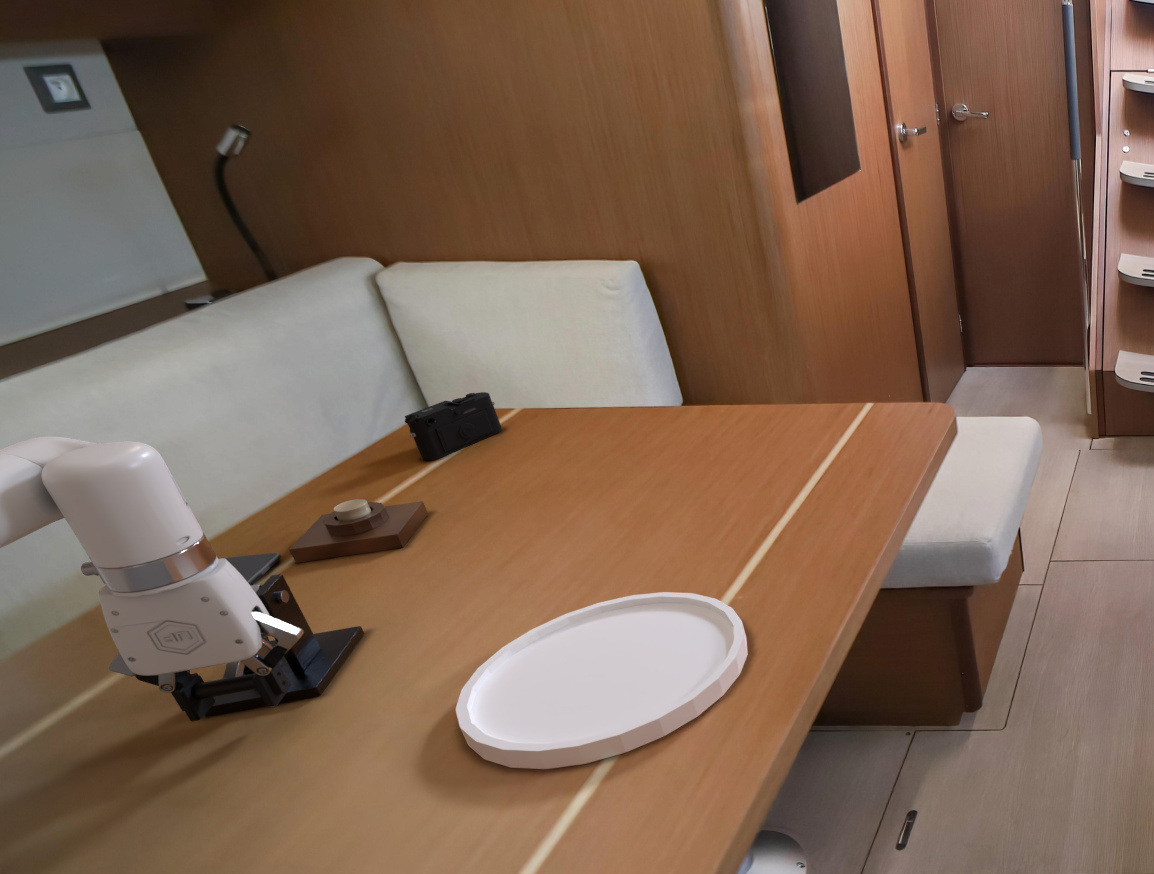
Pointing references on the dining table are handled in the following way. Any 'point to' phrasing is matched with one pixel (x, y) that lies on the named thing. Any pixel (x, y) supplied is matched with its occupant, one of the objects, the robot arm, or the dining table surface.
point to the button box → (360, 532)
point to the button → (352, 509)
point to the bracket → (295, 652)
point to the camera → (453, 425)
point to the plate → (602, 680)
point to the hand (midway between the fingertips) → (241, 703)
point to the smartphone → (253, 565)
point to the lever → (226, 679)
